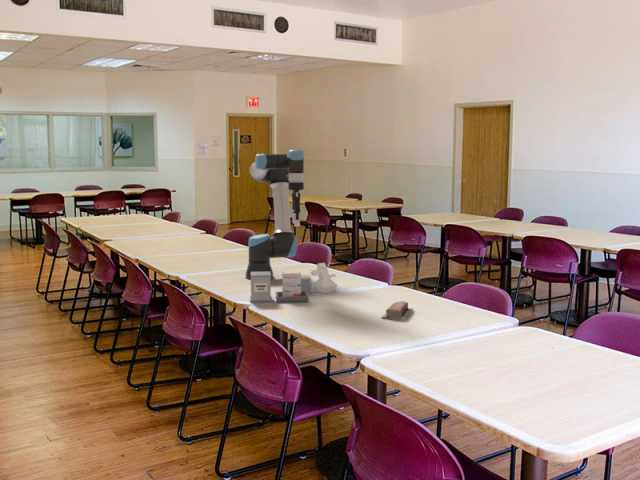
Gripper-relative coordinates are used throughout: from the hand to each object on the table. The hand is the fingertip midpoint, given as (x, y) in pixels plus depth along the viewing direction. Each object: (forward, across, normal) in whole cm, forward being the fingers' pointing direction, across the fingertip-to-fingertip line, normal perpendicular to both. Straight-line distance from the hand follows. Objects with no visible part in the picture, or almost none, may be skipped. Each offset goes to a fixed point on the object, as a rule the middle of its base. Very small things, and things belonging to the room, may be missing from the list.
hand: (296, 224), depth 326 cm
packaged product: (+33, +54, +40) cm, 75 cm away
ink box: (+32, +20, -4) cm, 38 cm away
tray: (+33, +21, -4) cm, 39 cm away
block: (+33, +6, +4) cm, 34 cm away
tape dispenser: (+33, +4, +14) cm, 36 cm away
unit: (+33, +21, -18) cm, 43 cm away
